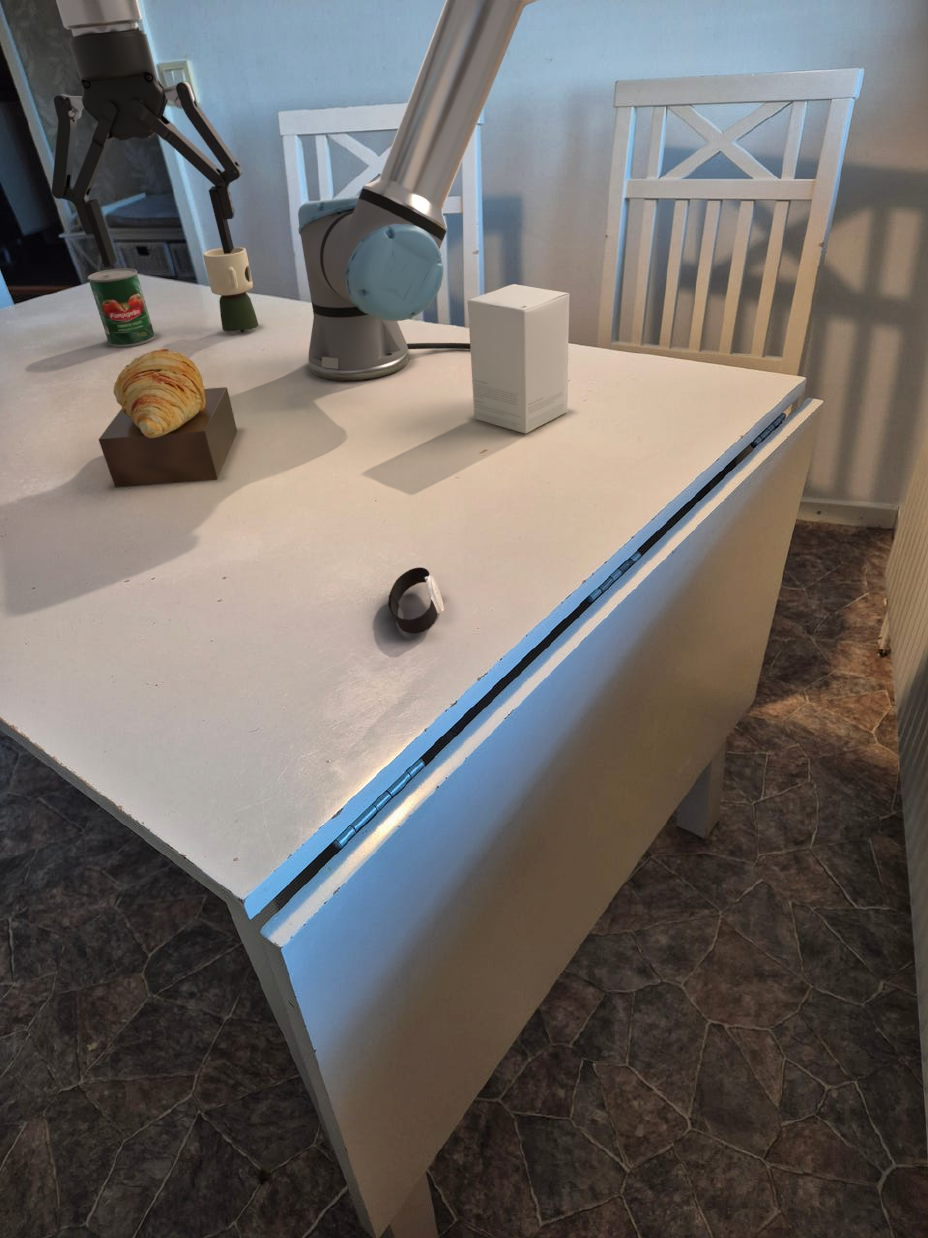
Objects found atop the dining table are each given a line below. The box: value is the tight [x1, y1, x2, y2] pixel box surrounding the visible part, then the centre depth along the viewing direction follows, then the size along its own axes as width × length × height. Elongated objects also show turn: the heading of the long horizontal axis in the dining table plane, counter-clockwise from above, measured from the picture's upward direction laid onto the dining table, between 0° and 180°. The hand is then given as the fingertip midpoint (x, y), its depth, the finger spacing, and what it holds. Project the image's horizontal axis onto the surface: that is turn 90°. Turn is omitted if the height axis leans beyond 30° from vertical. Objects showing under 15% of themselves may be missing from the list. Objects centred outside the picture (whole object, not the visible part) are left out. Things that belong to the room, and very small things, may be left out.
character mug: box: [202, 246, 260, 333], centre depth 139 cm, size 11×7×13 cm, turn 22°
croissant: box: [113, 348, 206, 438], centre depth 95 cm, size 21×10×8 cm, turn 11°
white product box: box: [467, 283, 570, 434], centre depth 100 cm, size 9×9×15 cm
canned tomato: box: [87, 267, 156, 348], centre depth 139 cm, size 8×8×11 cm
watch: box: [388, 567, 444, 635], centre depth 70 cm, size 8×5×4 cm, turn 5°
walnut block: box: [98, 386, 238, 488], centre depth 98 cm, size 12×14×6 cm
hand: (170, 257), depth 93 cm, fingers open, 13 cm apart
